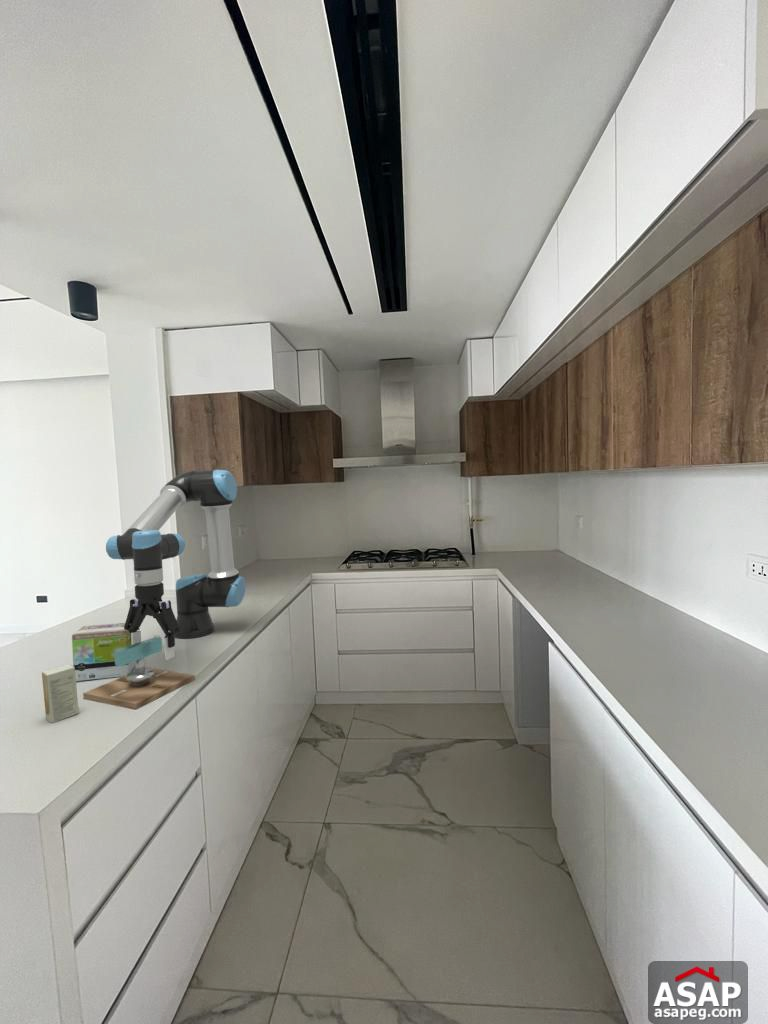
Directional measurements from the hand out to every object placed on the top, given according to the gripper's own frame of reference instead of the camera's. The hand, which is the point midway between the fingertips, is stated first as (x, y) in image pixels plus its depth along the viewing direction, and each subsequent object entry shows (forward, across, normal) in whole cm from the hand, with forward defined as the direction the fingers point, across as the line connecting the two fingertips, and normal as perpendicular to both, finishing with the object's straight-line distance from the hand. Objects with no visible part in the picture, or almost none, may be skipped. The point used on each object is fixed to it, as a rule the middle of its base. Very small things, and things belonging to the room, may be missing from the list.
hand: (153, 655), depth 137 cm
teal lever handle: (+5, 0, -4) cm, 7 cm away
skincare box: (+8, -5, -24) cm, 25 cm away
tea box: (+8, -21, 0) cm, 23 cm away
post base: (+8, 0, -4) cm, 9 cm away
